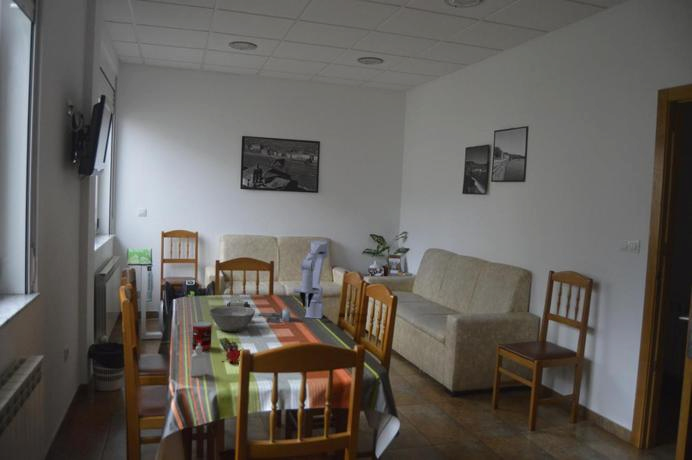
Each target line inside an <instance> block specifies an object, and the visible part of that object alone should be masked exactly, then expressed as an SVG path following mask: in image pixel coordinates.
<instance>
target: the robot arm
mask: <svg viewBox="0 0 692 460" xmlns="http://www.w3.org/2000/svg"><path fill="white" fill-rule="evenodd" d="M329 251H330V244H329V241H322V240H320V241H319V240H311V242H310V252H309V253H308V254H307V255H306V257H305V258H304V260H301V265H300V266H301V274H302V277H301V278H302V279H301V288H294V289H293V292H292V293H293V294H299V297H300V299H301V302H302V307H303V308H305V306H306V309H305V316H304V318H307V319H323V316H324V302H323V301H322V300H323V298H324V297H323V296H324V289H323V287H322V286H321V285H320V283H321V277H322V272H323V271H322V270H323V266H324V262H325V259H326V258H328V256H329V255H328V254H329Z"/></svg>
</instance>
